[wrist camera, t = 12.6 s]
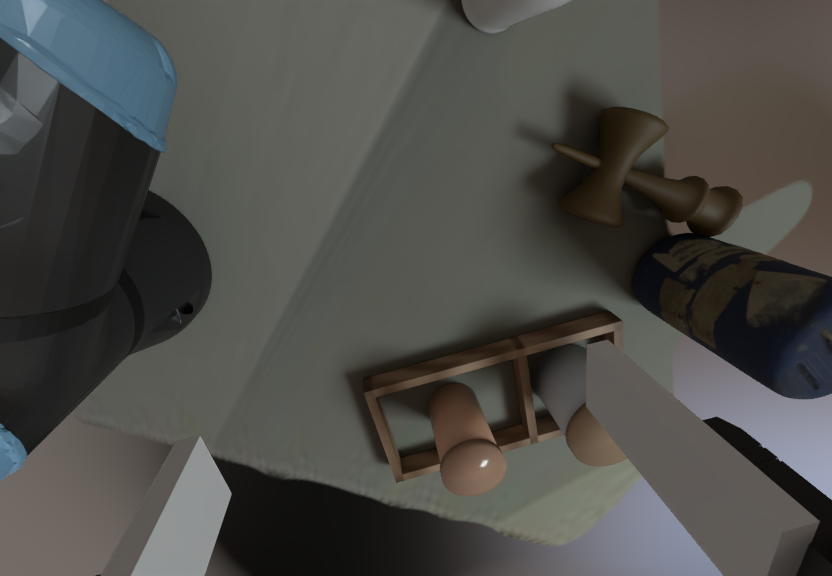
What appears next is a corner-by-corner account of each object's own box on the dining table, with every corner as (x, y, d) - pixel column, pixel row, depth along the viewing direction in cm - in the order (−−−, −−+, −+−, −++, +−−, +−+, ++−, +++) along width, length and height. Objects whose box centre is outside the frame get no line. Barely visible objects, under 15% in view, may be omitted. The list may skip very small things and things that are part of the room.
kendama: (670, 250, 43) (515, 194, 37) (719, 163, 40) (558, 89, 34) (718, 267, 37) (544, 204, 32) (778, 169, 34) (598, 81, 29)
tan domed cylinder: (432, 430, 47) (449, 503, 38) (420, 390, 45) (435, 457, 36) (481, 416, 48) (510, 485, 38) (473, 375, 45) (501, 438, 36)
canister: (694, 211, 41) (921, 269, 24) (717, 277, 44) (929, 367, 28) (614, 263, 42) (779, 353, 25) (644, 324, 45) (804, 436, 29)
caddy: (394, 465, 49) (396, 482, 47) (363, 378, 43) (363, 392, 41) (611, 404, 50) (624, 417, 47) (609, 310, 44) (622, 320, 42)
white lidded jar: (533, 409, 48) (573, 475, 39) (525, 353, 45) (567, 412, 36) (598, 391, 49) (653, 452, 39) (595, 334, 45) (655, 387, 36)
